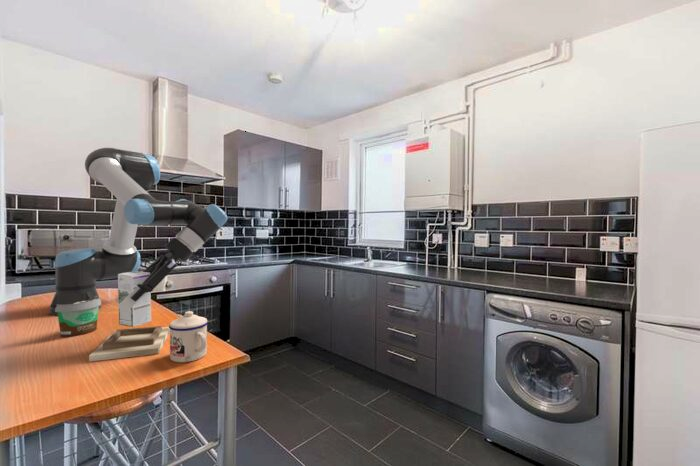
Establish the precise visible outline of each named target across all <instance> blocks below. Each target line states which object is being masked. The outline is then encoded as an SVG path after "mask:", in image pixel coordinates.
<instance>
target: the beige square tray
mask: <svg viewBox="0 0 700 466" xmlns="http://www.w3.org/2000/svg"><path fill="white" fill-rule="evenodd" d="M168 336H170V328H169V326H165V327H164V326H163V327H162V325H157V326H145V327H136V328H135V327H131V328H121V329H116V330H115V331H113V332H111V334H110V335H108V337H107V338H106V339H105V340H103V342H102V343H100V345H98V346H97V348H96V349H95V350H94V351H92V352H91V353H90V354H89V355H88V362H97V361H106V360H107V361H108V360H115V359H124V358H133V357H142V356H151V355H158V354H159V353H160V352H161V349H162V348H163V346H164V344H165V342H166V340H167V338H168Z"/></svg>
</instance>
